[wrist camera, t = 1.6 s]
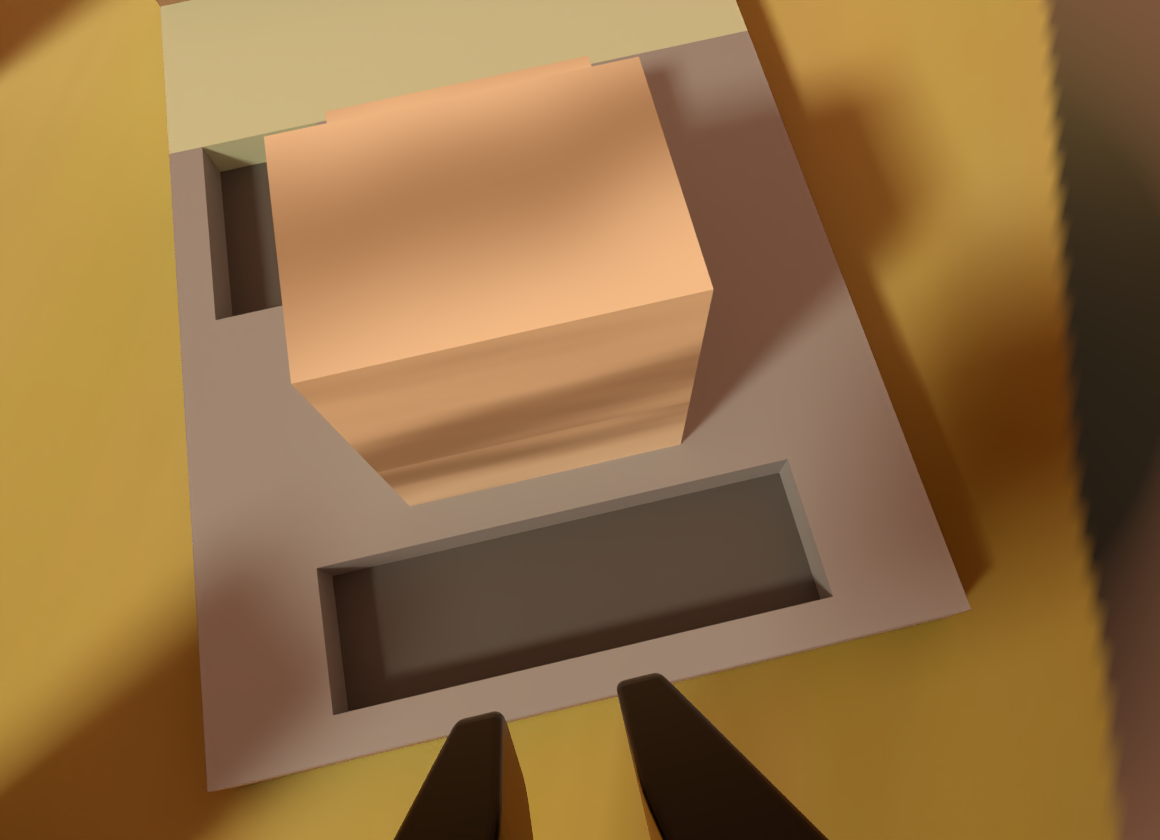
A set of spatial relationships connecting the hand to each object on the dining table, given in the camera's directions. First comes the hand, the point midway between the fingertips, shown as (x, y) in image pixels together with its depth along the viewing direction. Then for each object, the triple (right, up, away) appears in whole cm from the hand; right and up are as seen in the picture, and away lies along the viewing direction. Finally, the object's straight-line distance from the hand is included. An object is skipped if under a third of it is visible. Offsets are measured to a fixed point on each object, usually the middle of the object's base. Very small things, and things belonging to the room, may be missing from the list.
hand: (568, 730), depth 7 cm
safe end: (-4, +15, +20) cm, 26 cm away
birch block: (-2, +6, +15) cm, 16 cm away
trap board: (-1, +4, +16) cm, 17 cm away
